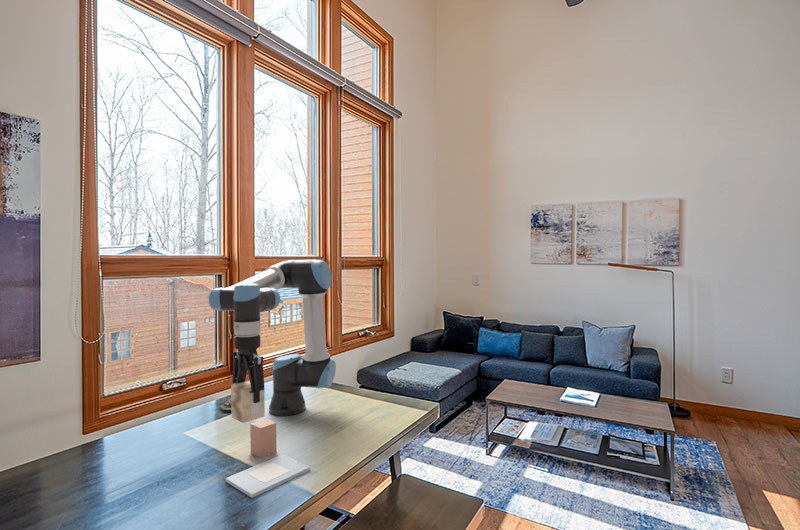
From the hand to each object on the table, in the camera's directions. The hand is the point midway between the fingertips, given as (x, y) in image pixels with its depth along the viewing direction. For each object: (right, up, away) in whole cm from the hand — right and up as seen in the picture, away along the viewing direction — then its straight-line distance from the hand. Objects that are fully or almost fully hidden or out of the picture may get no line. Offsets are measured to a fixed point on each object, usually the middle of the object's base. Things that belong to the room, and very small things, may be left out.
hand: (248, 409), depth 133 cm
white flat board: (+7, -19, -1) cm, 21 cm away
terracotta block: (0, -19, +14) cm, 24 cm away
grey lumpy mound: (-27, -19, +58) cm, 66 cm away
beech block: (0, -2, 0) cm, 2 cm away
